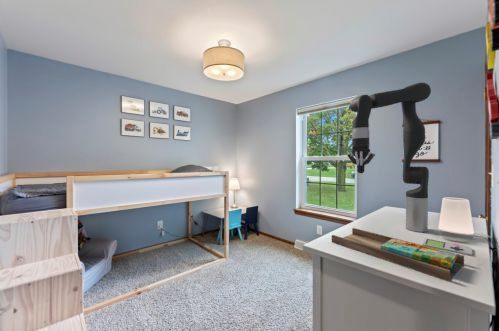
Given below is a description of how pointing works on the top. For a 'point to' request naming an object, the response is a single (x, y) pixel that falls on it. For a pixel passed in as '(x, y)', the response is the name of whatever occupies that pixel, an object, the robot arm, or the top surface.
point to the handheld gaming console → (448, 246)
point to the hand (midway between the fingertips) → (360, 173)
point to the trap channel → (372, 246)
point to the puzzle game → (420, 253)
